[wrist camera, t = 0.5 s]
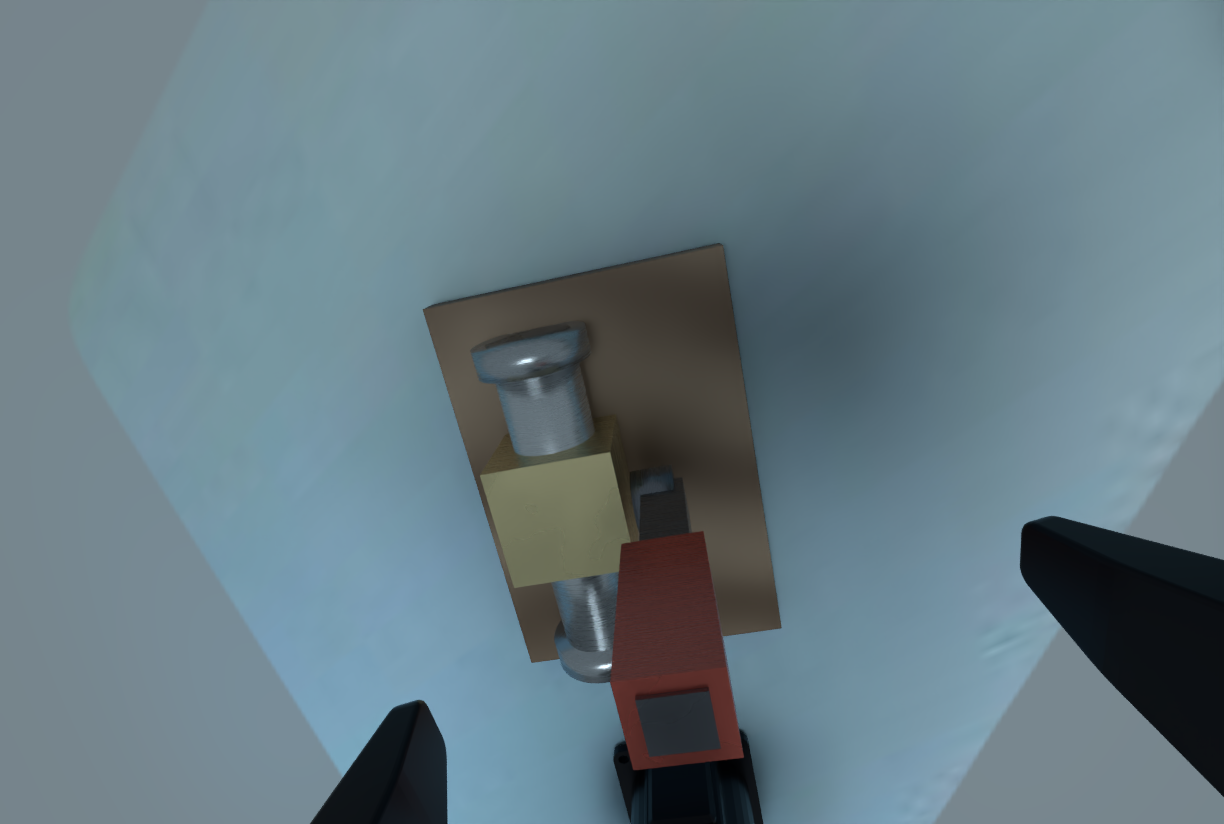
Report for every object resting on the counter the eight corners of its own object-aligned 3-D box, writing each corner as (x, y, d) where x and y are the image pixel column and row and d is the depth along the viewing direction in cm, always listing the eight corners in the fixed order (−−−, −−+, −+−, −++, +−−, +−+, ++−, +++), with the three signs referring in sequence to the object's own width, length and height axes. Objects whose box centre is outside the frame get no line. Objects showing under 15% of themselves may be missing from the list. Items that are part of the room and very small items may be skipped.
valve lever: (700, 507, 22) (744, 761, 12) (639, 517, 22) (633, 774, 12) (689, 450, 21) (727, 671, 11) (627, 461, 22) (609, 686, 11)
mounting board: (775, 610, 27) (781, 628, 26) (536, 644, 28) (531, 662, 27) (719, 242, 22) (722, 245, 21) (433, 304, 24) (422, 309, 22)
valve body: (660, 607, 27) (663, 680, 22) (562, 622, 27) (547, 696, 23) (595, 314, 23) (583, 337, 19) (481, 337, 23) (446, 365, 19)
